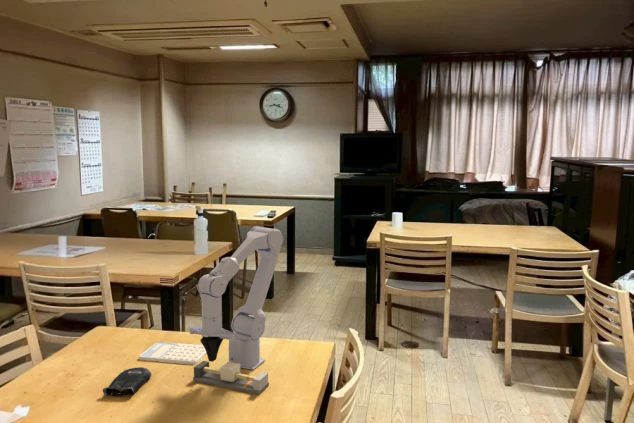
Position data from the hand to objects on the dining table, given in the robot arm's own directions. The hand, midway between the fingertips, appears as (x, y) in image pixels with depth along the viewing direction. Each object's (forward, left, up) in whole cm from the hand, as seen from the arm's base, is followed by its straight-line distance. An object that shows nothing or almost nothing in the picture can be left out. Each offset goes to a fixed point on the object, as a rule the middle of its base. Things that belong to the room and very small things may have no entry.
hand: (212, 360), depth 151 cm
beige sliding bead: (+6, 0, -5) cm, 7 cm away
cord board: (+6, 0, -6) cm, 9 cm away
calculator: (-22, +11, -7) cm, 26 cm away
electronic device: (-20, -12, -7) cm, 24 cm away
